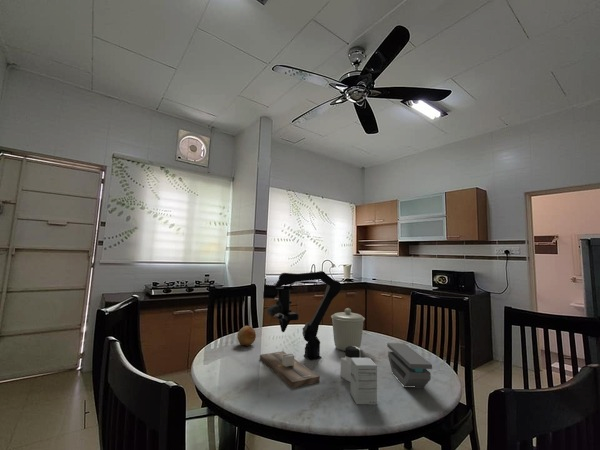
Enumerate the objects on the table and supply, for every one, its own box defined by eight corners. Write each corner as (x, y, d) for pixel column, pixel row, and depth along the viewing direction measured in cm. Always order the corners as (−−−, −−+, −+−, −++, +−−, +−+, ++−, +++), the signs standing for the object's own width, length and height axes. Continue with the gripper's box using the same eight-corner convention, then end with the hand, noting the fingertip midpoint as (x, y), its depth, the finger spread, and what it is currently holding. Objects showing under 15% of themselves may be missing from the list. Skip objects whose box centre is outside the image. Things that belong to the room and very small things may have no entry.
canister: (369, 347, 153) (369, 308, 156) (357, 357, 138) (357, 313, 140) (338, 341, 163) (339, 304, 165) (324, 349, 148) (325, 308, 150)
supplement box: (349, 394, 100) (350, 357, 102) (370, 394, 101) (370, 357, 102) (355, 405, 93) (356, 365, 94) (377, 404, 93) (377, 365, 95)
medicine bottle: (350, 383, 109) (351, 351, 110) (340, 376, 115) (340, 345, 117) (365, 380, 112) (365, 348, 114) (354, 373, 119) (354, 343, 120)
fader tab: (290, 362, 122) (291, 352, 123) (294, 365, 119) (294, 355, 120) (282, 364, 120) (282, 354, 121) (285, 366, 117) (285, 356, 118)
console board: (282, 355, 137) (283, 350, 137) (319, 381, 109) (319, 375, 110) (259, 359, 131) (260, 354, 131) (292, 387, 104) (292, 381, 104)
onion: (233, 347, 147) (234, 327, 148) (242, 341, 157) (243, 323, 158) (250, 349, 144) (251, 329, 146) (258, 343, 154) (259, 325, 155)
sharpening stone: (387, 368, 125) (387, 342, 126) (404, 368, 125) (404, 343, 127) (410, 396, 100) (410, 364, 102) (432, 396, 101) (431, 364, 102)
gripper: (260, 297, 141) (259, 329, 139) (278, 302, 125) (277, 339, 124) (280, 296, 147) (279, 326, 145) (299, 301, 131) (298, 335, 130)
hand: (283, 332), depth 136 cm, fingers closed
